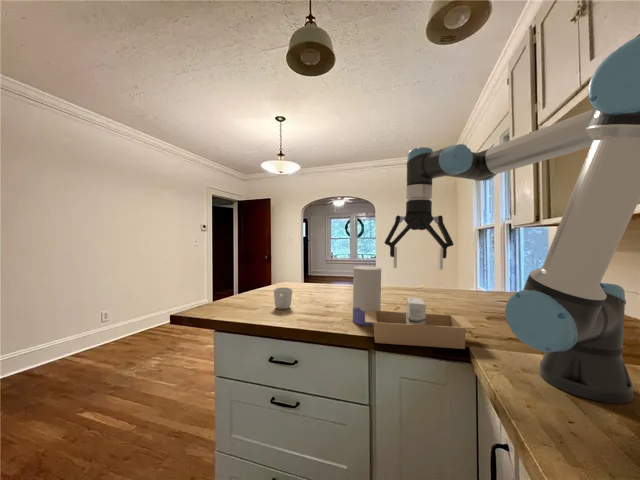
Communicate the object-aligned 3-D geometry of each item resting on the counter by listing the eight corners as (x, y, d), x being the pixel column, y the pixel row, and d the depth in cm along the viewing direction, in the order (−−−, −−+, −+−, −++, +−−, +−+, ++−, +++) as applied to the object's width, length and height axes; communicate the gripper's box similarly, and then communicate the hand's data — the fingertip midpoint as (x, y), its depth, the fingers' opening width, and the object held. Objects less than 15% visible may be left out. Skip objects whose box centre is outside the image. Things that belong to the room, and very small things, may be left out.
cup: (290, 312, 116) (290, 292, 116) (270, 312, 116) (270, 292, 116) (293, 305, 127) (293, 287, 127) (275, 305, 127) (275, 287, 127)
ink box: (425, 343, 85) (426, 304, 85) (408, 342, 86) (409, 303, 86) (421, 333, 94) (422, 297, 93) (405, 332, 95) (406, 296, 94)
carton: (476, 349, 81) (476, 328, 81) (364, 341, 86) (365, 322, 86) (460, 333, 94) (461, 315, 94) (364, 327, 99) (364, 310, 99)
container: (385, 321, 106) (386, 267, 105) (370, 328, 98) (371, 270, 98) (362, 316, 112) (363, 265, 112) (347, 321, 105) (348, 267, 104)
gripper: (458, 201, 91) (456, 268, 91) (377, 201, 95) (376, 265, 96) (465, 198, 83) (463, 271, 84) (378, 199, 88) (377, 268, 88)
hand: (417, 268), depth 90 cm, fingers open, 13 cm apart
